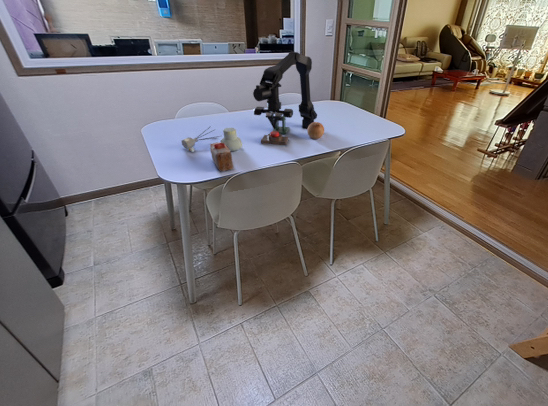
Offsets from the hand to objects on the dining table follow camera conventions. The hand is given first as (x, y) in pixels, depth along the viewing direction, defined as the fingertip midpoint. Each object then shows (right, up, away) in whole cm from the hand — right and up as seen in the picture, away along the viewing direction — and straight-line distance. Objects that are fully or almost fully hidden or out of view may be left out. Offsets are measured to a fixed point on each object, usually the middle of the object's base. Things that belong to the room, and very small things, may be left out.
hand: (274, 128), depth 148 cm
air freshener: (-20, -12, -6) cm, 24 cm away
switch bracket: (0, +3, +18) cm, 18 cm away
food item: (-19, -21, -21) cm, 35 cm away
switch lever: (0, +7, +10) cm, 12 cm away
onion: (+21, -2, +13) cm, 24 cm away
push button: (0, -3, +2) cm, 4 cm away
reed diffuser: (-35, -9, -3) cm, 37 cm away
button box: (0, -6, +4) cm, 7 cm away
